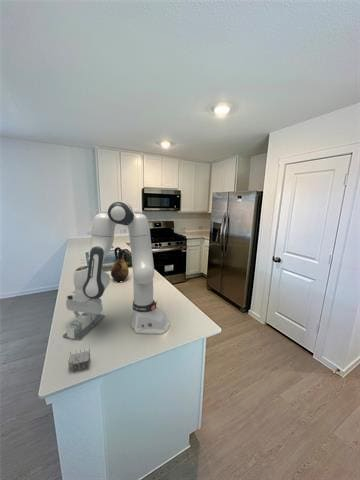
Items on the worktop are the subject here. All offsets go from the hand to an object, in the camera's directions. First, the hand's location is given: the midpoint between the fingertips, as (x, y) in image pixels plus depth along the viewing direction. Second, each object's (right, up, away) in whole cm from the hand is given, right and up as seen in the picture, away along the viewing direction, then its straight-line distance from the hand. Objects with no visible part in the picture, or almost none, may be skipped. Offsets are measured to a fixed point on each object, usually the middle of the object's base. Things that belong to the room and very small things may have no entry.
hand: (85, 318), depth 110 cm
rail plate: (0, -5, +1) cm, 5 cm away
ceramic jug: (-2, +7, +68) cm, 69 cm away
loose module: (0, -4, +1) cm, 4 cm away
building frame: (+10, -10, -26) cm, 30 cm away
